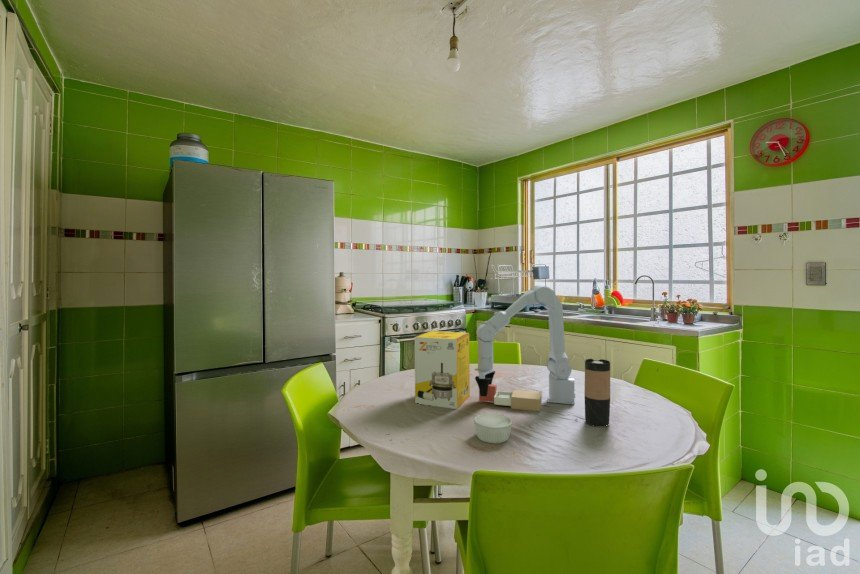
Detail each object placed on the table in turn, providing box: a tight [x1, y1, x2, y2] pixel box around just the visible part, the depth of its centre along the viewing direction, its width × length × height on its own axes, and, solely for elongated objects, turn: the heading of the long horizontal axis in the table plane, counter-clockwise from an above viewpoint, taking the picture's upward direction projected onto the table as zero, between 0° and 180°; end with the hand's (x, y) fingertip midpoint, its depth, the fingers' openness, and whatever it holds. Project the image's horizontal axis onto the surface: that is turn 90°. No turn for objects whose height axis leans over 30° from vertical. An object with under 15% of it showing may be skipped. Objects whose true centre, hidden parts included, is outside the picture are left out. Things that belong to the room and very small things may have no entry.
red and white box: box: [478, 384, 513, 407], centre depth 149 cm, size 15×8×6 cm, turn 72°
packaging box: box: [414, 330, 471, 410], centre depth 154 cm, size 16×16×25 cm
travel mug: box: [584, 358, 611, 427], centre depth 129 cm, size 8×8×20 cm
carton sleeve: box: [510, 389, 543, 412], centre depth 146 cm, size 10×9×4 cm
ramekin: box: [473, 412, 513, 444], centre depth 119 cm, size 11×11×5 cm
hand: (485, 393), depth 151 cm, fingers open, 7 cm apart
